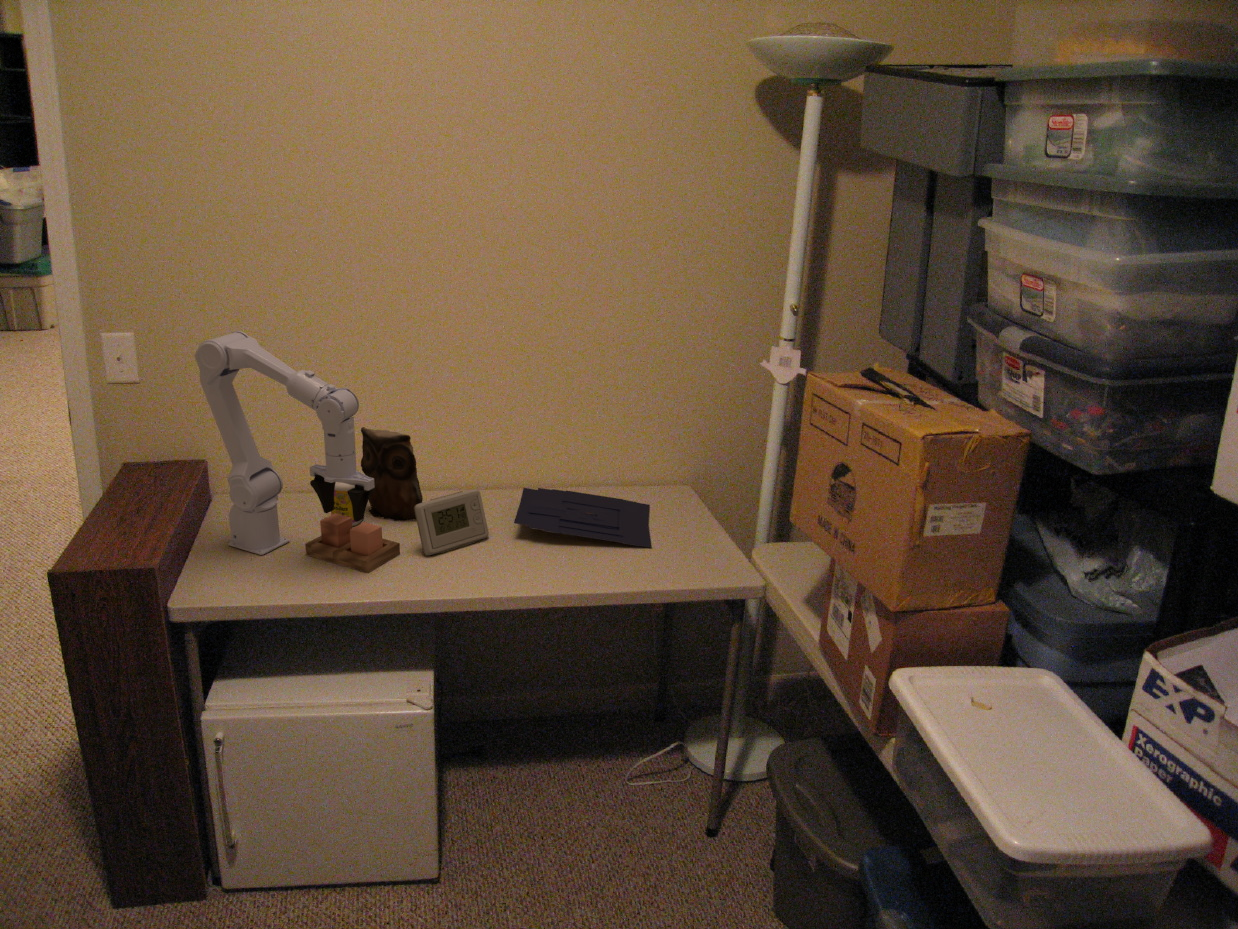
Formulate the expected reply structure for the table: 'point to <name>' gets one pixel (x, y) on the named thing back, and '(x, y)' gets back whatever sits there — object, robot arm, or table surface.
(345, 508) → the supplement bottle
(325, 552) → the walnut base
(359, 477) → the robot arm
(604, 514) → the black flat block
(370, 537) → the post block
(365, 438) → the owl
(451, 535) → the digital clock
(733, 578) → the table surface
